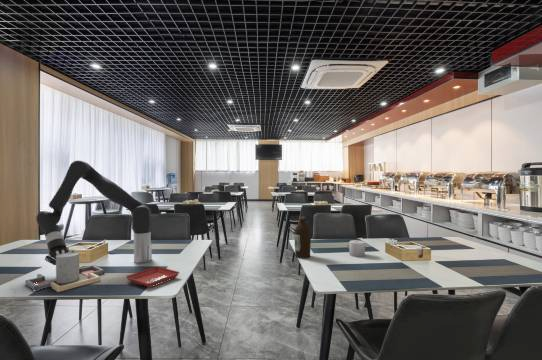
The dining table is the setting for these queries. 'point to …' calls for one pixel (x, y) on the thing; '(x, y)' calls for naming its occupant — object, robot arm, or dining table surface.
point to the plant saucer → (152, 276)
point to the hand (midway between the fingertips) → (64, 269)
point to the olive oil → (302, 239)
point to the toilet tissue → (356, 248)
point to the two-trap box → (88, 271)
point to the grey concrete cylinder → (67, 267)
